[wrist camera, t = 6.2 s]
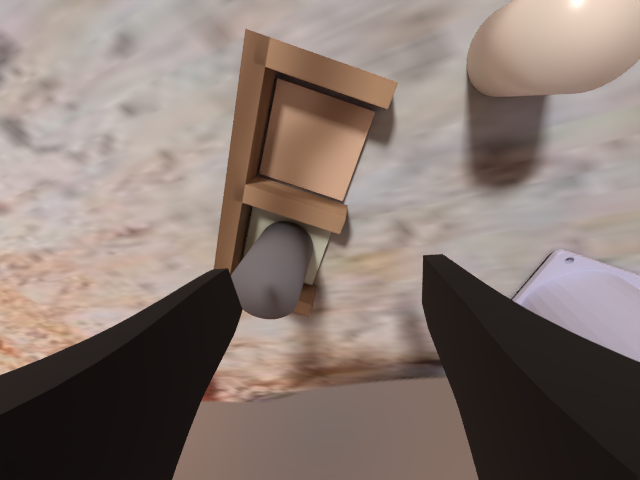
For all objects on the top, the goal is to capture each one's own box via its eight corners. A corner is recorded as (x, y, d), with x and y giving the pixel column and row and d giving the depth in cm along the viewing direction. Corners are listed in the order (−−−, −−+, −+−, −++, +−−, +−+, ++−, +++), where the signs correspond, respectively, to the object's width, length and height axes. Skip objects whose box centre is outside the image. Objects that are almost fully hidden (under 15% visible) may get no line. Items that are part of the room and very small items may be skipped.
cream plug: (573, 17, 13) (712, -37, 8) (520, 107, 14) (604, 109, 10) (496, -12, 12) (587, -85, 8) (451, 83, 14) (502, 72, 9)
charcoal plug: (307, 273, 21) (292, 326, 16) (258, 261, 21) (227, 309, 16) (318, 228, 19) (304, 272, 14) (263, 215, 19) (230, 253, 14)
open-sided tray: (392, 85, 15) (398, 82, 13) (312, 297, 22) (308, 316, 20) (260, 39, 14) (245, 28, 12) (224, 270, 22) (211, 286, 20)
